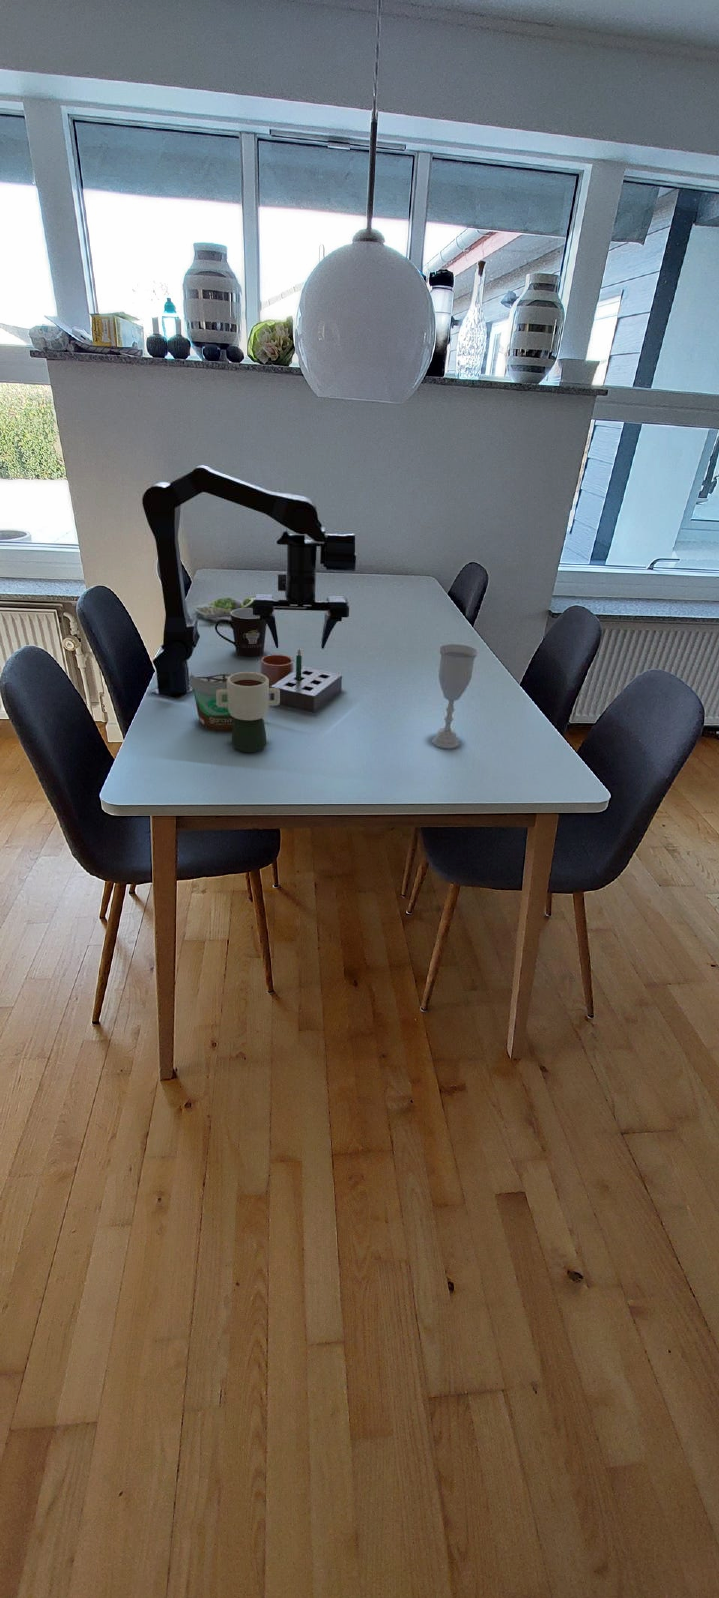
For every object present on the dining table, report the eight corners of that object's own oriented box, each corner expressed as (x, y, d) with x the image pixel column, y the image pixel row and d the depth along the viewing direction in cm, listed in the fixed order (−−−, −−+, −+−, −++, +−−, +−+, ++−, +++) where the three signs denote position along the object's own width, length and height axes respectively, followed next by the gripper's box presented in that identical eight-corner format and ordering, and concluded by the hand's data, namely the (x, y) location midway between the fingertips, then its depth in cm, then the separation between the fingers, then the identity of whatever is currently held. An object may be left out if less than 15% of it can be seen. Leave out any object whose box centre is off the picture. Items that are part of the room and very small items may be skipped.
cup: (283, 690, 147) (283, 667, 144) (255, 684, 149) (255, 661, 146) (298, 680, 152) (298, 658, 150) (270, 674, 155) (270, 652, 152)
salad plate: (226, 630, 179) (225, 613, 177) (178, 615, 187) (177, 598, 185) (275, 615, 193) (275, 599, 191) (228, 602, 201) (228, 586, 199)
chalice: (441, 730, 135) (453, 641, 125) (470, 742, 131) (485, 651, 122) (419, 742, 130) (431, 650, 120) (450, 754, 126) (463, 660, 117)
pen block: (341, 692, 148) (342, 674, 146) (313, 714, 137) (314, 696, 135) (300, 683, 151) (300, 665, 149) (270, 704, 140) (270, 686, 138)
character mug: (276, 737, 128) (277, 670, 121) (282, 754, 122) (282, 685, 115) (217, 739, 125) (214, 672, 118) (219, 757, 119) (216, 687, 113)
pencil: (299, 697, 144) (300, 650, 139) (294, 696, 145) (295, 649, 139) (301, 696, 145) (303, 648, 140) (297, 694, 146) (297, 647, 140)
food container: (193, 736, 126) (190, 685, 121) (191, 722, 131) (187, 672, 126) (260, 732, 129) (260, 682, 124) (256, 718, 134) (255, 669, 129)
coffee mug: (271, 650, 168) (271, 609, 163) (263, 662, 161) (263, 620, 156) (224, 646, 169) (223, 605, 164) (214, 657, 162) (212, 615, 156)
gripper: (344, 561, 140) (341, 636, 148) (252, 557, 137) (253, 634, 145) (351, 574, 130) (347, 653, 138) (251, 571, 127) (253, 652, 136)
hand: (299, 647), depth 139 cm, fingers open, 9 cm apart
